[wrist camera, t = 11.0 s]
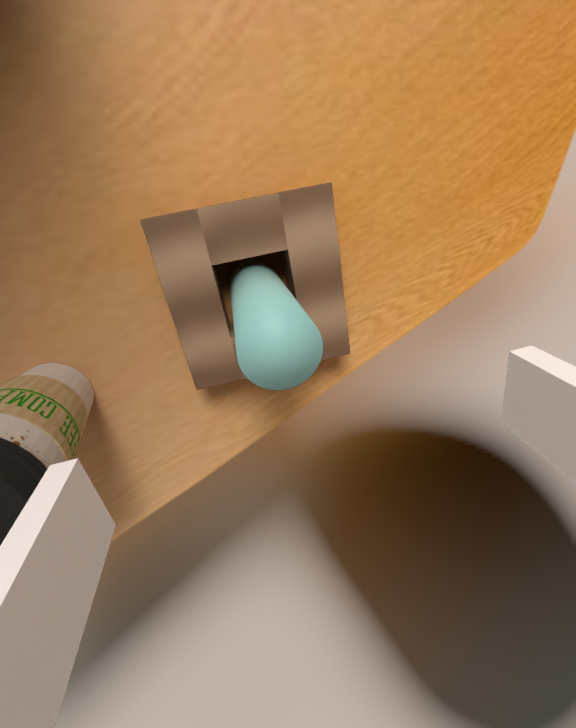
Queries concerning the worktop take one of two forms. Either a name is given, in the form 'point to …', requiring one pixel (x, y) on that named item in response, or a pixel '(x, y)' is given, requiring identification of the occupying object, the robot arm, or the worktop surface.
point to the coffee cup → (38, 430)
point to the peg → (271, 329)
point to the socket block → (239, 241)
